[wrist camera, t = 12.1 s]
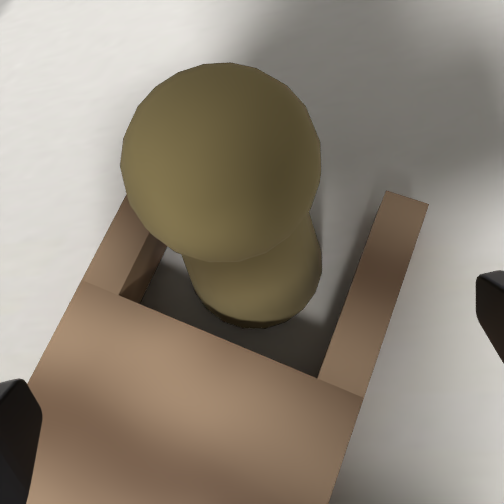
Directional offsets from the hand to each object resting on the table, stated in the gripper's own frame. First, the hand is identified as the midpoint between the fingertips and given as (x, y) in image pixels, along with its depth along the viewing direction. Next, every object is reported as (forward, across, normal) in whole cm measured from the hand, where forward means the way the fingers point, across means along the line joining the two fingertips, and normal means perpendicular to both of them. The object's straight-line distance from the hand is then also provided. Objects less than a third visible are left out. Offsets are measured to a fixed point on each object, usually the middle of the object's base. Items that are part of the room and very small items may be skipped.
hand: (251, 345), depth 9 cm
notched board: (+8, +3, +7) cm, 11 cm away
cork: (+12, 0, +4) cm, 12 cm away
